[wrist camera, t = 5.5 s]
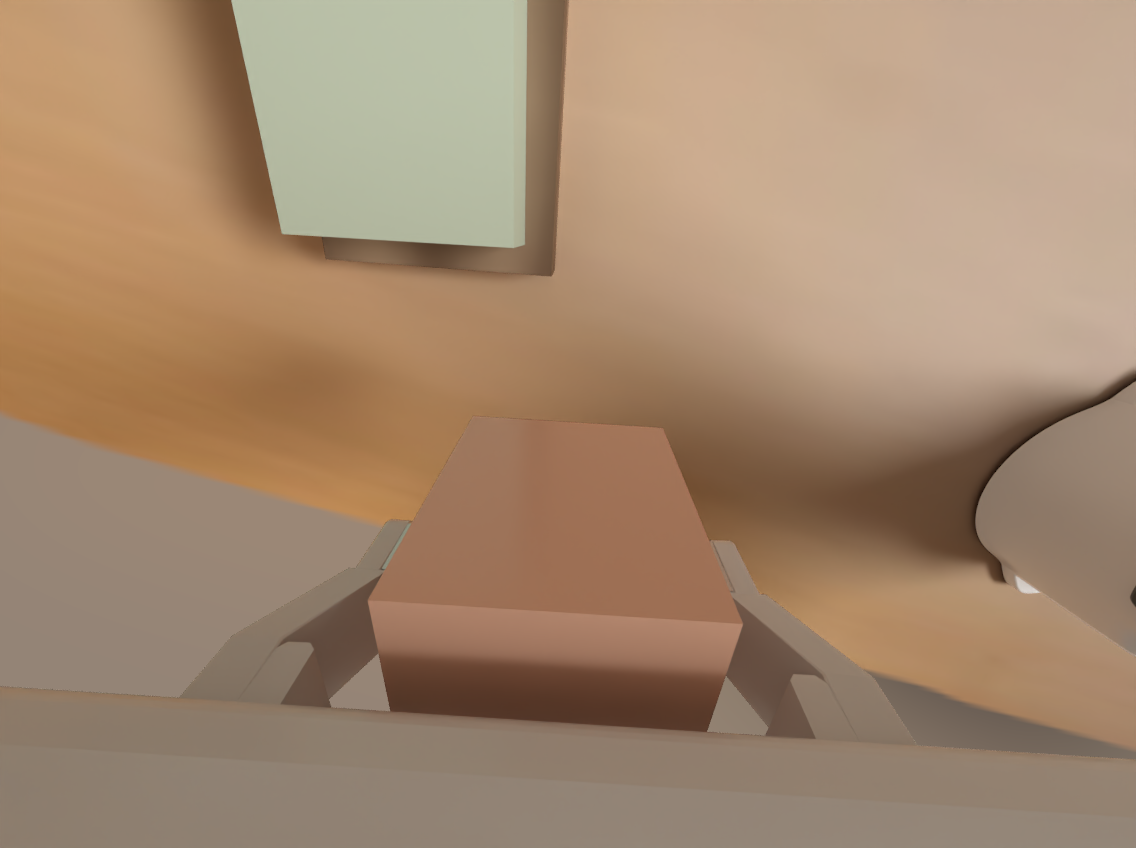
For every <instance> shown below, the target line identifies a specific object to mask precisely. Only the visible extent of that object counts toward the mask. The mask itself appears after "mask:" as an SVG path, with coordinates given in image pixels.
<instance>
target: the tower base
mask: <svg viewBox="0 0 1136 848" xmlns="http://www.w3.org/2000/svg"><path fill="white" fill-rule="evenodd" d="M568 8H569V0H527V82H526V185H525V245H522V246H519V247H516V248H504V247H487V246H471V245H454V244H438V243H421V242H405V241H388V240H372V239H355V238H339V237H322V240H323V246H324V252H325V258H326V259H330V260H343V261H356V262H370V263H383V264H396V265H409V266H422V267H435V268H448V269H462V270H475V271H488V272H501V273H514V274H527V275H540V276H552V274H553V272H554V271H555V255H556V236H557V217H558V198H559V179H560V160H561V141H562V122H563V103H564V84H565V65H566V46H567V27H568Z"/></svg>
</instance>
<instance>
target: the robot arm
mask: <svg viewBox="0 0 1136 848" xmlns="http://www.w3.org/2000/svg"><path fill="white" fill-rule="evenodd" d="M975 521H976V530H977V534H978V537H979V539H980V541H981V543H982V544H983V545H984V547H985V548H986V549H987V550H988V551H989V552H990V553H992V554H993V555H994V556H995V557H996V558H997V559H998V560H999V561H1000V562H1001V564H1002V571H1003V575H1004V579H1005V581H1006V582H1007V583H1008V584H1009V585H1011V586H1012V587H1014V588H1015V589H1016V590H1018V591H1019V592H1022V593H1042V594H1043V595H1045V596H1046V597H1048V598H1049V599H1050V600H1052V601H1053V602H1055V603H1056V604H1058V605H1059V606H1061V607H1062V608H1063V609H1065V610H1066V611H1068V612H1069V613H1071V614H1072V615H1074V616H1075V617H1076V618H1078V619H1079V620H1081V621H1082V622H1084V623H1085V624H1087V625H1088V626H1090V627H1091V628H1092V629H1094V630H1095V631H1097V632H1098V633H1100V634H1101V635H1103V636H1104V637H1106V638H1107V639H1108V640H1110V641H1111V642H1113V643H1114V644H1116V645H1117V646H1119V647H1120V648H1122V649H1123V650H1125V651H1126V652H1128V653H1129V654H1131V655H1133V656H1134V657H1136V381H1135V382H1133V383H1132V384H1131V385H1129V386H1128V387H1126V388H1125V389H1123V390H1122V391H1121V392H1119V393H1118V394H1116V395H1115V396H1114V397H1112V398H1111V399H1109V400H1107V401H1105V402H1103V403H1101V404H1099V405H1096V406H1094V407H1092V408H1089V409H1087V410H1084V411H1082V412H1079V413H1077V414H1074V415H1072V416H1070V417H1067V418H1065V419H1063V420H1061V421H1059V422H1057V423H1055V424H1054V425H1052V426H1050V427H1048V428H1047V429H1045V430H1043V431H1042V432H1040V433H1039V434H1037V435H1036V436H1034V437H1033V438H1031V439H1030V440H1029V441H1027V442H1026V443H1025V444H1023V445H1022V446H1021V447H1020V448H1019V449H1017V450H1016V451H1015V452H1014V453H1013V454H1012V455H1011V456H1010V457H1009V458H1008V459H1007V460H1006V461H1005V462H1004V463H1003V464H1002V465H1001V466H1000V467H999V469H998V470H997V471H996V472H995V474H994V475H993V476H992V478H991V479H990V481H989V482H988V484H987V485H986V487H985V489H984V491H983V493H982V495H981V497H980V500H979V503H978V506H977V511H976V519H975ZM412 522H413V521H408V520H396V519H391V520H389V521H387V522H386V523H385V525H384V526H383V528H382V529H381V531H380V532H379V534H378V535H377V537H376V538H375V540H374V541H373V543H372V544H371V546H370V547H369V549H368V550H367V552H366V553H365V555H364V556H363V558H362V559H361V561H360V562H359V564H358V565H357V567H356V568H348V569H346V570H344V571H343V572H341V573H339V574H338V575H336V576H334V577H332V578H331V579H329V580H327V581H325V582H324V583H322V584H320V585H319V586H317V587H315V588H314V589H312V590H310V591H308V592H306V593H305V594H303V595H301V596H300V597H298V598H296V599H295V600H293V601H291V602H290V603H288V604H286V605H284V606H282V607H281V608H279V609H277V610H276V611H274V612H272V613H271V614H269V615H267V616H265V617H263V618H262V619H260V620H258V621H256V622H255V623H253V624H251V625H250V626H248V627H246V628H244V629H243V630H241V631H239V632H238V633H236V634H234V635H232V636H231V638H230V639H229V640H228V641H227V642H226V643H225V645H224V646H223V647H222V648H221V649H220V650H219V652H218V653H217V654H216V655H215V657H213V659H212V660H211V661H210V662H209V663H208V664H207V666H206V667H205V668H204V669H203V670H202V671H201V673H200V674H199V675H198V676H197V677H196V678H195V680H194V681H193V682H192V683H191V684H190V685H189V687H188V688H187V689H186V690H185V691H184V692H183V694H182V695H181V696H180V697H179V698H175V697H160V696H145V695H129V694H115V693H98V692H83V691H68V690H53V689H38V688H22V687H6V686H0V848H1136V760H1131V759H1114V758H1100V757H1083V756H1068V755H1052V754H1037V753H1023V752H1007V751H992V750H977V749H960V748H946V747H930V746H918V745H917V744H916V742H915V741H914V739H913V738H912V736H911V735H910V733H909V732H908V730H907V728H906V727H905V725H904V724H903V723H902V721H901V719H900V718H899V716H898V715H897V713H896V711H895V710H894V708H893V707H892V705H891V704H890V702H889V701H888V699H887V698H886V696H885V694H884V693H883V691H882V690H881V689H880V687H879V685H878V684H877V682H876V681H875V679H874V678H873V677H872V676H871V675H869V674H868V673H867V672H865V671H864V670H863V669H862V668H860V667H859V666H858V665H856V664H855V663H854V662H853V661H851V660H850V659H849V658H847V657H846V656H845V655H843V654H842V653H841V652H840V651H838V650H837V649H836V648H834V647H833V646H832V645H830V644H829V643H828V642H827V641H825V640H824V639H823V638H821V637H820V636H819V635H818V634H816V633H815V632H814V631H812V630H811V629H810V628H808V627H807V626H806V625H805V624H803V623H802V622H801V621H799V620H798V619H797V618H795V617H794V616H793V615H792V614H790V613H789V612H788V611H786V610H785V609H784V608H783V607H781V606H780V605H779V604H777V603H776V602H775V601H773V600H772V599H771V598H770V597H768V596H767V595H763V594H759V592H758V590H757V588H756V586H755V584H754V582H753V580H752V578H751V576H750V574H749V572H748V570H747V568H746V566H745V564H744V562H743V560H742V558H741V556H740V554H739V552H738V550H737V548H736V546H735V544H734V543H733V542H732V541H722V540H709V542H710V544H711V547H712V549H713V552H714V554H715V556H716V559H717V561H718V564H719V566H720V569H721V571H722V574H723V576H724V578H725V581H726V583H727V586H728V588H729V591H730V593H731V596H732V598H733V600H734V603H735V605H736V608H737V610H738V613H739V615H740V618H741V620H742V622H743V626H742V629H741V632H740V635H739V638H738V641H737V644H736V647H735V650H734V653H733V656H732V659H731V662H730V665H729V668H728V671H727V673H726V676H727V677H728V678H729V679H730V681H731V682H732V683H733V685H734V686H735V687H736V688H737V689H738V690H739V692H740V693H741V694H742V696H743V697H744V698H745V699H746V700H747V702H748V703H749V704H750V705H751V706H752V708H753V709H754V710H755V711H756V713H757V714H758V715H759V716H760V717H761V719H762V720H763V721H764V722H765V724H766V725H767V726H768V727H769V728H768V731H767V733H766V735H765V736H761V735H747V734H731V733H716V732H700V731H684V730H668V729H652V728H637V727H621V726H605V725H590V724H575V723H560V722H544V721H529V720H514V719H499V718H484V717H469V716H453V715H438V714H423V713H407V712H392V711H376V710H360V709H346V708H331V705H330V701H329V699H330V698H331V697H332V696H333V695H334V694H335V693H336V692H337V691H338V690H339V689H341V688H342V687H343V686H344V685H345V684H346V683H347V682H348V681H349V680H350V679H351V678H352V677H353V676H354V675H355V674H356V673H358V672H359V671H360V670H361V669H362V668H363V667H364V666H365V665H366V664H367V663H368V662H369V661H370V660H372V659H373V658H374V657H375V656H376V655H377V654H378V648H377V643H376V639H375V634H374V629H373V624H372V619H371V614H370V610H369V605H368V599H369V597H370V595H371V593H372V592H373V590H374V588H375V586H376V585H377V583H378V581H379V579H380V578H381V576H382V574H383V572H384V571H385V569H386V567H387V565H388V564H389V562H390V560H391V558H392V557H393V555H394V553H395V551H396V550H397V548H398V546H399V544H400V543H401V541H402V539H403V537H404V536H405V534H406V532H407V530H408V529H409V527H410V525H411V523H412Z"/></svg>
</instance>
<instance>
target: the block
mask: <svg viewBox="0 0 1136 848" xmlns="http://www.w3.org/2000/svg"><path fill="white" fill-rule="evenodd" d="M368 605H369V610H370V614H371V619H372V624H373V629H374V634H375V639H376V643H377V648H378V653H379V658H380V663H381V668H382V672H383V677H384V682H385V687H386V692H387V697H388V701H389V706H390V711H392V712H407V713H423V714H438V715H453V716H469V717H484V718H499V719H514V720H529V721H544V722H560V723H575V724H590V725H605V726H621V727H637V728H652V729H668V730H684V731H700V732H707V730H708V727H709V724H710V721H711V718H712V715H713V712H714V709H715V706H716V703H717V700H718V697H719V694H720V691H721V688H722V685H723V682H724V679H725V676H726V673H727V671H728V668H729V665H730V662H731V659H732V656H733V653H734V650H735V647H736V644H737V641H738V638H739V635H740V632H741V629H742V626H743V622H742V620H741V618H740V615H739V613H738V610H737V608H736V605H735V603H734V600H733V598H732V596H731V593H730V591H729V588H728V586H727V583H726V581H725V578H724V576H723V574H722V571H721V569H720V566H719V564H718V561H717V559H716V556H715V554H714V552H713V549H712V547H711V544H710V542H709V539H708V537H707V534H706V532H705V530H704V527H703V525H702V522H701V520H700V517H699V515H698V512H697V510H696V508H695V505H694V503H693V500H692V498H691V495H690V493H689V490H688V488H687V486H686V483H685V481H684V478H683V476H682V473H681V471H680V468H679V466H678V464H677V461H676V459H675V456H674V454H673V451H672V449H671V446H670V444H669V442H668V439H667V437H666V434H665V432H664V429H663V428H657V427H642V426H626V425H610V424H594V423H578V422H562V421H546V420H530V419H514V418H498V417H482V416H473V417H472V419H471V420H470V422H469V424H468V426H467V427H466V429H465V431H464V433H463V434H462V436H461V438H460V440H459V441H458V443H457V445H456V447H455V448H454V450H453V452H452V454H451V455H450V457H449V459H448V461H447V462H446V464H445V466H444V468H443V469H442V471H441V473H440V475H439V476H438V478H437V480H436V482H435V483H434V485H433V487H432V489H431V490H430V492H429V494H428V496H427V497H426V499H425V501H424V503H423V504H422V506H421V508H420V510H419V511H418V513H417V515H416V517H415V518H414V520H413V522H412V523H411V525H410V527H409V529H408V530H407V532H406V534H405V536H404V537H403V539H402V541H401V543H400V544H399V546H398V548H397V550H396V551H395V553H394V555H393V557H392V558H391V560H390V562H389V564H388V565H387V567H386V569H385V571H384V572H383V574H382V576H381V578H380V579H379V581H378V583H377V585H376V586H375V588H374V590H373V592H372V593H371V595H370V597H369V599H368Z"/></svg>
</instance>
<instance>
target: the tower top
mask: <svg viewBox="0 0 1136 848" xmlns="http://www.w3.org/2000/svg"><path fill="white" fill-rule="evenodd" d="M231 2H232V6H233V11H234V15H235V20H236V25H237V29H238V34H239V38H240V43H241V48H242V52H243V57H244V62H245V66H246V71H247V75H248V80H249V85H250V89H251V94H252V98H253V103H254V108H255V112H256V117H257V121H258V126H259V131H260V135H261V140H262V145H263V149H264V154H265V158H266V163H267V168H268V172H269V177H270V181H271V186H272V191H273V195H274V200H275V204H276V209H277V214H278V218H279V223H280V228H281V232H282V234H289V235H306V236H322V237H339V238H355V239H372V240H388V241H405V242H421V243H438V244H454V245H471V246H487V247H504V248H516V247H519V246H522V245H525V185H526V82H527V0H231Z"/></svg>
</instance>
